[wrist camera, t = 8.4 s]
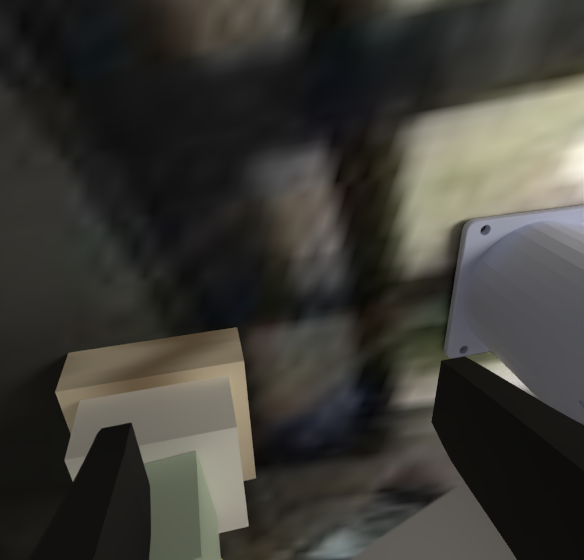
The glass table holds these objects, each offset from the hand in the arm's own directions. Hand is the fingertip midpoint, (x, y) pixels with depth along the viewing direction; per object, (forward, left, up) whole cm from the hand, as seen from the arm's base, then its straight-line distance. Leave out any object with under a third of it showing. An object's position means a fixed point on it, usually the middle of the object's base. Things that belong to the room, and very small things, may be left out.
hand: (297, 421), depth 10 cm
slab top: (+4, +8, -8) cm, 12 cm away
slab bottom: (+4, +8, -11) cm, 14 cm away
